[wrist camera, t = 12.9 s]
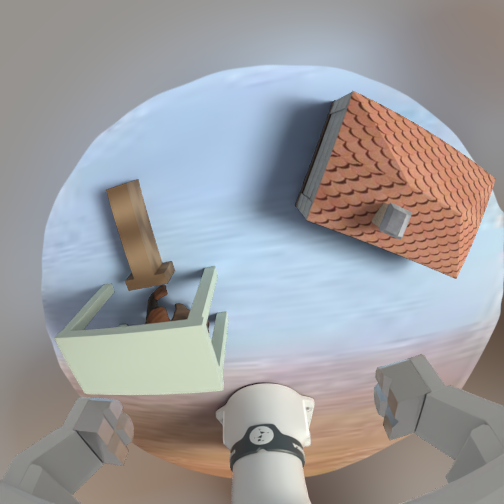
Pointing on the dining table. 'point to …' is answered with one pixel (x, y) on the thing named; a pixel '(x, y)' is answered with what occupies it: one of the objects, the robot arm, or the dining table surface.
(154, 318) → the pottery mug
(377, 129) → the model house
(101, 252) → the dining table surface
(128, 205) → the push stick
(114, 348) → the footstool
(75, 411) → the robot arm
